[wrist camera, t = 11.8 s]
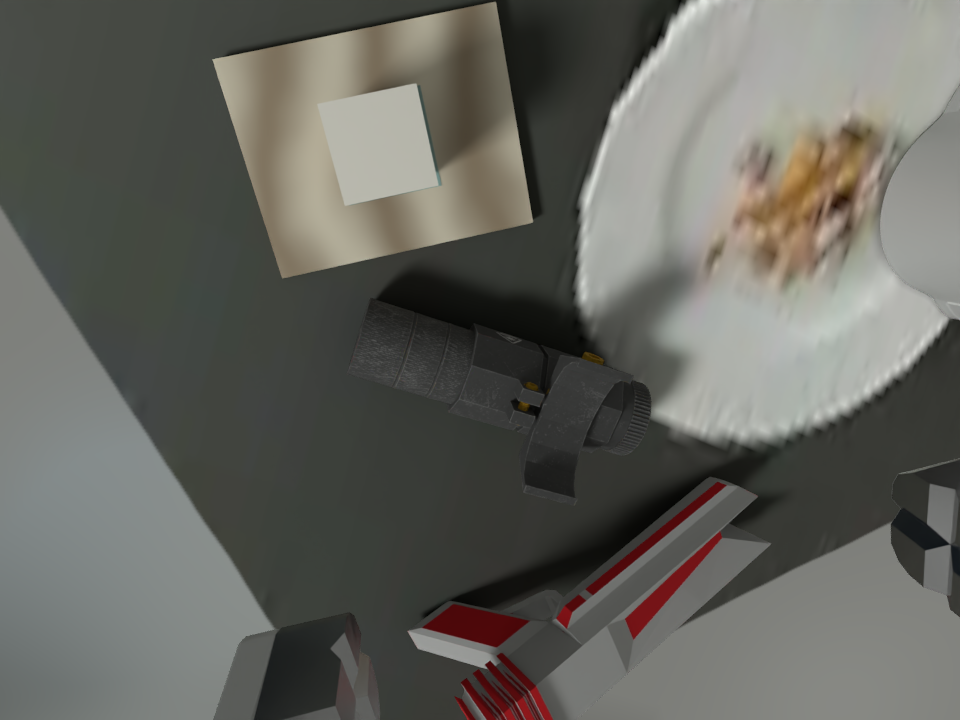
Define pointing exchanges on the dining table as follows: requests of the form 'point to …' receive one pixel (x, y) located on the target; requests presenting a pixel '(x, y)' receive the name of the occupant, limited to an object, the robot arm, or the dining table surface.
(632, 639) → the toy gun
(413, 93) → the cream block
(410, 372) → the laser sight
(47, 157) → the dining table surface
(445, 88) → the beige rectangular board
